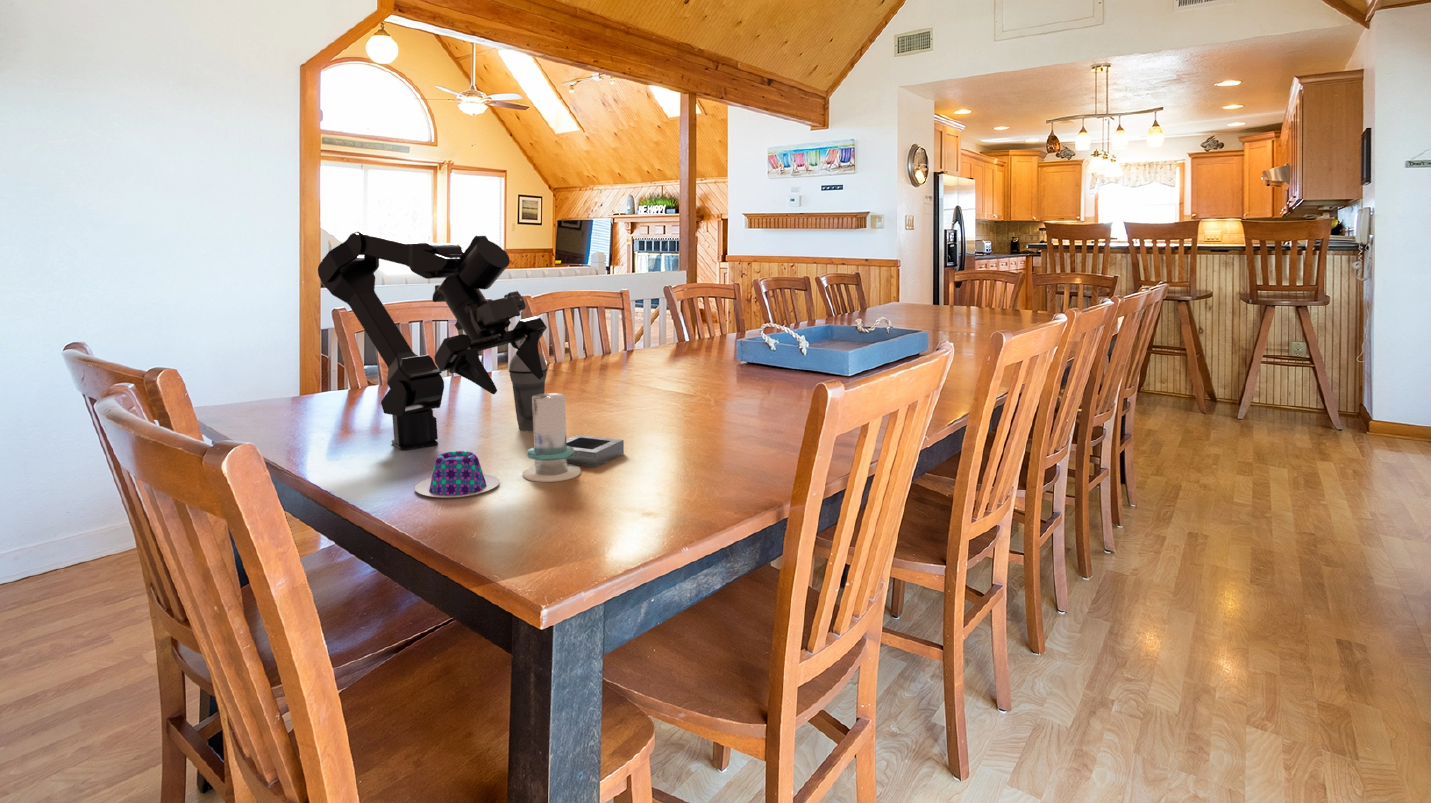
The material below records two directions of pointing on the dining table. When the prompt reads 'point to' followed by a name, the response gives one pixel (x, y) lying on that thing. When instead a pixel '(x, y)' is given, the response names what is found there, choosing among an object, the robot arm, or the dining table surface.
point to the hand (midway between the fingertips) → (519, 385)
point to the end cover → (549, 434)
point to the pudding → (456, 476)
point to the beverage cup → (525, 390)
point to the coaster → (571, 473)
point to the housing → (594, 450)
